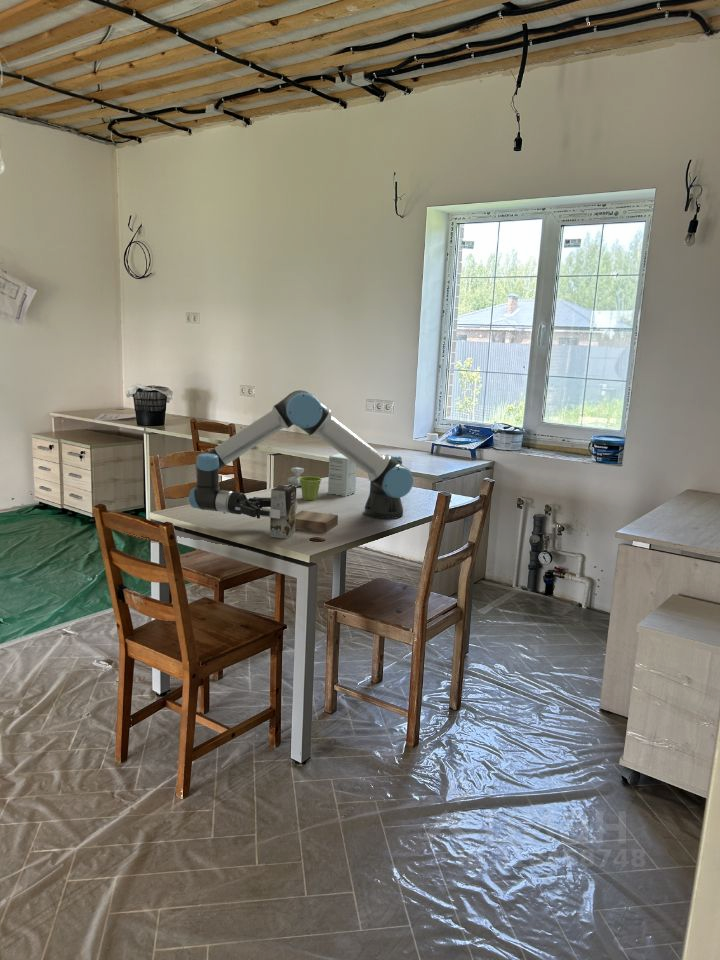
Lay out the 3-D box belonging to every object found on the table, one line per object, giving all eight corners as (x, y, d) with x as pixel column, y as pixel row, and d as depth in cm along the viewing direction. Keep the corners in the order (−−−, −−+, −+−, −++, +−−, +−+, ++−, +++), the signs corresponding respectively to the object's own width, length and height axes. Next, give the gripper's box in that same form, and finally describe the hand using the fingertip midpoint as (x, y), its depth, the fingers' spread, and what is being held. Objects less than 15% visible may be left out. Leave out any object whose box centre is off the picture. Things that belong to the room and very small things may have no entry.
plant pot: (310, 502, 274) (311, 481, 273) (293, 498, 280) (294, 478, 278) (325, 499, 282) (326, 479, 280) (308, 495, 287) (309, 475, 286)
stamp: (309, 486, 305) (310, 468, 303) (299, 488, 300) (300, 470, 298) (295, 483, 310) (295, 465, 309) (285, 485, 305) (285, 467, 303)
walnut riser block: (337, 525, 243) (338, 515, 242) (326, 534, 231) (326, 522, 231) (301, 521, 247) (301, 510, 246) (288, 529, 235) (288, 517, 235)
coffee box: (287, 539, 222) (289, 491, 218) (269, 537, 223) (270, 489, 220) (295, 532, 230) (297, 486, 227) (277, 530, 232) (279, 484, 228)
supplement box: (337, 490, 300) (339, 453, 297) (355, 493, 297) (357, 455, 293) (327, 494, 292) (328, 455, 289) (346, 497, 288) (347, 458, 285)
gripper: (249, 505, 243) (303, 512, 236) (212, 521, 220) (271, 529, 213) (249, 485, 242) (303, 492, 235) (213, 498, 218) (272, 506, 212)
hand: (288, 510), depth 224 cm, fingers open, 13 cm apart
